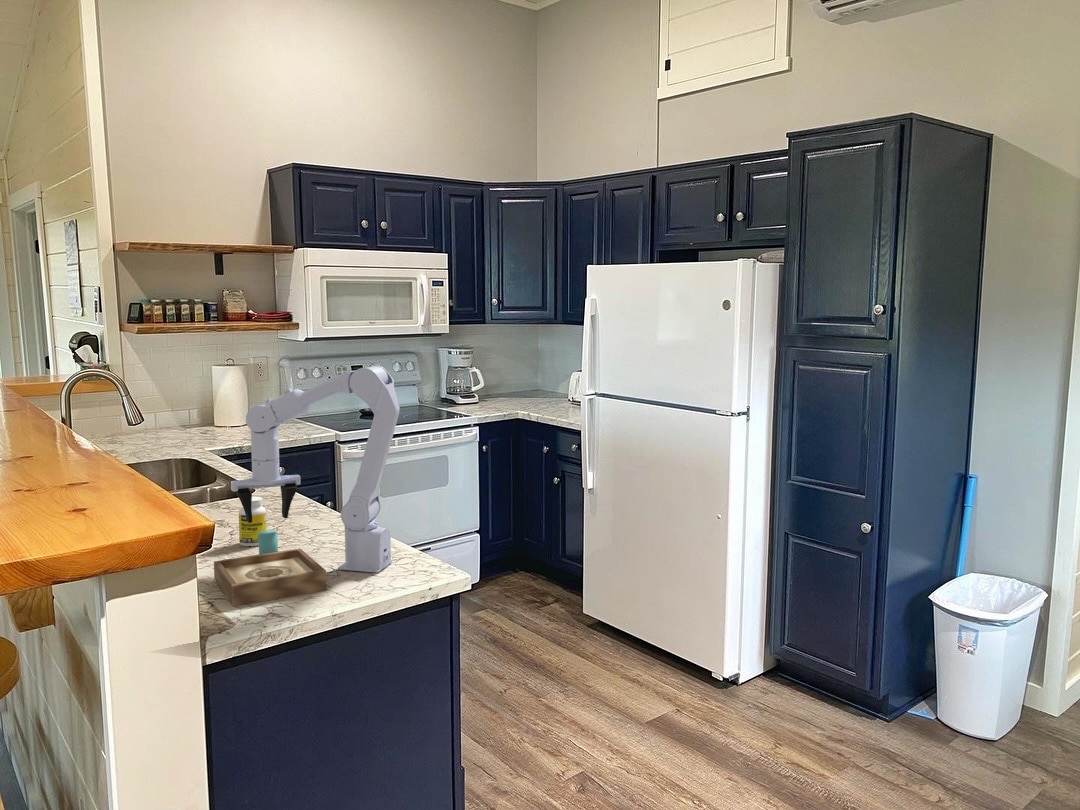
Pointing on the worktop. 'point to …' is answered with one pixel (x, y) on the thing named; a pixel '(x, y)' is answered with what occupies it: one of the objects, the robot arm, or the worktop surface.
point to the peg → (268, 541)
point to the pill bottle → (251, 530)
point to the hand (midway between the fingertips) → (267, 519)
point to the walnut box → (269, 576)
